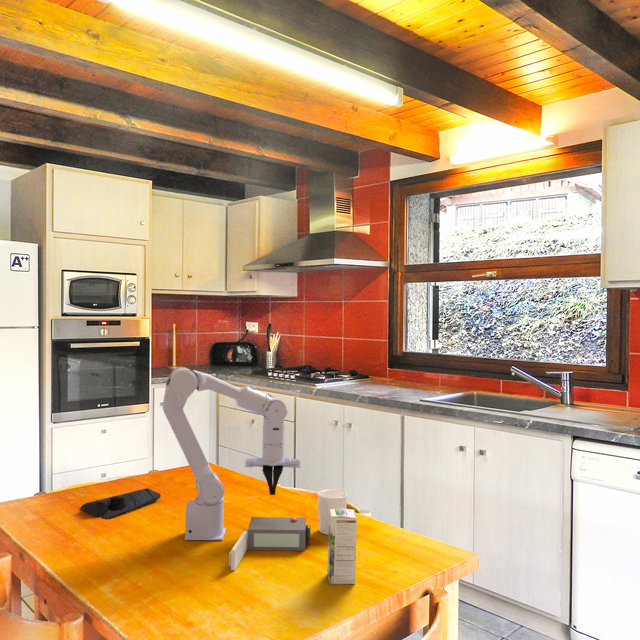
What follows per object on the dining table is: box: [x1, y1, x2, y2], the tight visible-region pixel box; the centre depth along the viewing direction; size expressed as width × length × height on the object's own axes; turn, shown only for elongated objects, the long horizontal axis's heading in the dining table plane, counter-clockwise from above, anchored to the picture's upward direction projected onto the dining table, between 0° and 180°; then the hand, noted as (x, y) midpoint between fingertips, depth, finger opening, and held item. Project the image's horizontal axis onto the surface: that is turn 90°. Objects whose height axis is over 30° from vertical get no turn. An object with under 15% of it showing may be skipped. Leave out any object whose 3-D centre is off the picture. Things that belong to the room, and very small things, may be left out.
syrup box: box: [327, 508, 358, 585], centre depth 130 cm, size 6×6×14 cm
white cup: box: [317, 488, 348, 536], centre depth 159 cm, size 8×8×10 cm
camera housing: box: [247, 516, 311, 552], centre depth 150 cm, size 15×9×6 cm, turn 91°
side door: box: [228, 528, 248, 571], centre depth 139 cm, size 13×1×5 cm, turn 173°
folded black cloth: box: [79, 487, 162, 520], centre depth 177 cm, size 15×22×5 cm
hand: (272, 493), depth 160 cm, fingers closed
